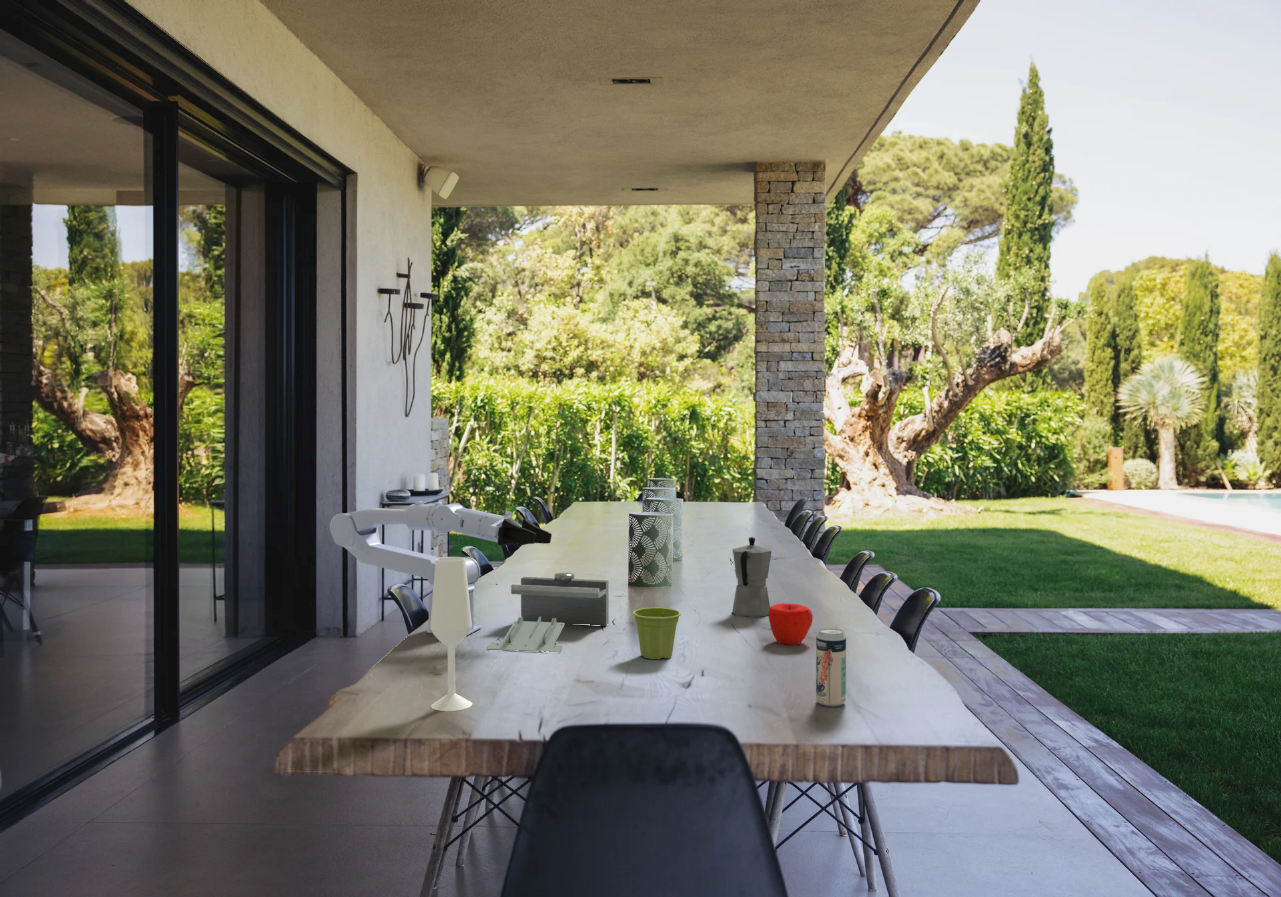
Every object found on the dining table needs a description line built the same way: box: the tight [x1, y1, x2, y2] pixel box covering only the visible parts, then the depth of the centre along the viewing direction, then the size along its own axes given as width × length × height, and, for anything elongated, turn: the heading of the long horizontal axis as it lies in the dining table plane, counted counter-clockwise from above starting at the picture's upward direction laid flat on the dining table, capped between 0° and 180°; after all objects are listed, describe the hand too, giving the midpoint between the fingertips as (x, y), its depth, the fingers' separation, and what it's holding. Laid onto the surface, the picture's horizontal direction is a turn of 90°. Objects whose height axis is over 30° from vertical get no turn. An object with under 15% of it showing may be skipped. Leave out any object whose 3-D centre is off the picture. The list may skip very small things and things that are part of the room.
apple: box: [767, 602, 814, 646], centre depth 210 cm, size 9×9×8 cm
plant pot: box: [632, 607, 682, 660], centre depth 199 cm, size 9×9×9 cm
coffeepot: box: [732, 536, 772, 618], centre depth 239 cm, size 15×9×18 cm, turn 160°
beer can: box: [815, 628, 847, 708], centre depth 167 cm, size 5×5×12 cm
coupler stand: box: [510, 572, 610, 627], centre depth 226 cm, size 20×9×11 cm, turn 76°
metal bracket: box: [486, 616, 566, 653], centre depth 209 cm, size 14×6×15 cm
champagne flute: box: [430, 556, 473, 712], centre depth 166 cm, size 7×7×24 cm
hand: (542, 538), depth 213 cm, fingers open, 7 cm apart
